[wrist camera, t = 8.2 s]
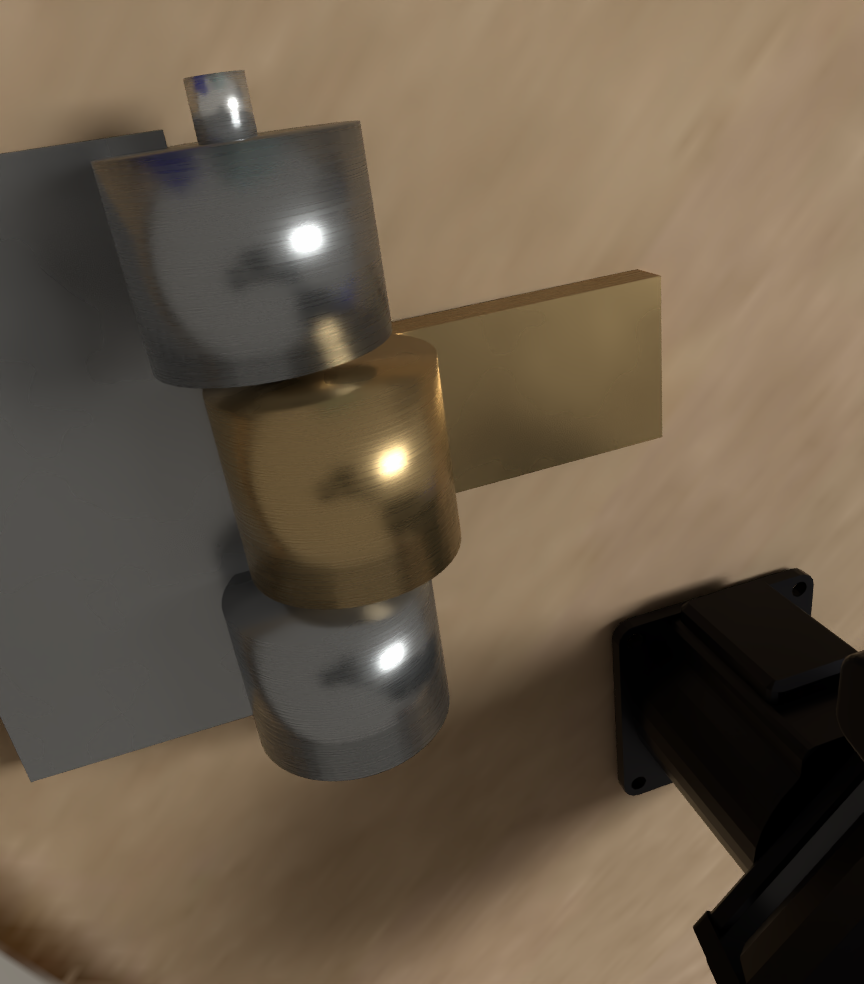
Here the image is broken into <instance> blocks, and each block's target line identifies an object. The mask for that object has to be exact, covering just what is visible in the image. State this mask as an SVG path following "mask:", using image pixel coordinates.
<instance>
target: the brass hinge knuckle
mask: <svg viewBox="0 0 864 984" xmlns="http://www.w3.org/2000/svg"><path fill="white" fill-rule="evenodd" d="M391 323H392V334H391V335H390V337H389V338H388V339H387V340H386V341H385V342H384V343H383V344H382V345H380V346H379V347H377V348H376V349H374V350H372V351H371V352H369V353H367V354H365V355H363V356H361V357H358V358H356V359H354V360H351V361H349V362H346V363H344V364H341V365H338V366H335V367H332V368H329V369H326V370H323V371H319V372H315V373H312V374H308V375H304V376H300V377H296V378H291V379H286V380H281V381H276V382H271V383H264V384H258V385H250V386H242V387H231V388H212V389H203V390H202V395H203V399H204V403H205V407H206V410H207V414H208V418H209V421H210V425H211V429H212V433H213V436H214V440H215V444H216V447H217V451H218V455H219V459H220V462H221V466H222V470H223V473H224V477H225V481H226V485H227V488H228V492H229V496H230V500H231V503H232V507H233V511H234V514H235V518H236V522H237V526H238V529H239V533H240V537H241V540H242V544H243V548H244V552H245V555H246V559H247V563H248V566H249V570H250V574H251V578H252V580H253V582H254V584H255V586H256V587H257V588H258V590H259V591H261V592H262V593H263V594H264V595H265V596H267V597H269V598H271V599H273V600H274V601H277V602H280V603H282V604H285V605H289V606H293V607H299V608H306V609H321V610H328V609H344V608H353V607H359V606H364V605H370V604H374V603H377V602H381V601H385V600H388V599H391V598H394V597H397V596H400V595H402V594H404V593H407V592H409V591H411V590H413V589H415V588H417V587H419V586H421V585H423V584H425V583H426V582H428V581H429V580H431V579H432V578H434V577H435V576H437V575H438V574H439V573H440V572H442V571H443V570H444V569H445V568H446V567H447V566H448V565H449V564H450V563H451V562H452V560H453V559H454V557H455V556H456V554H457V552H458V550H459V548H460V543H461V531H460V523H459V516H458V508H457V501H456V493H458V492H461V491H465V490H469V489H473V488H476V487H480V486H484V485H487V484H491V483H495V482H498V481H502V480H506V479H509V478H513V477H517V476H520V475H524V474H528V473H531V472H535V471H539V470H542V469H546V468H550V467H553V466H557V465H561V464H564V463H568V462H572V461H575V460H579V459H583V458H586V457H590V456H594V455H597V454H601V453H605V452H609V451H612V450H616V449H620V448H623V447H627V446H631V445H634V444H638V443H642V442H645V441H649V440H653V439H656V438H660V437H662V370H661V276H660V275H656V274H652V273H649V272H645V271H642V270H638V269H636V270H632V271H627V272H622V273H618V274H613V275H609V276H604V277H599V278H595V279H590V280H585V281H581V282H576V283H572V284H567V285H562V286H558V287H553V288H548V289H544V290H539V291H535V292H530V293H525V294H521V295H516V296H511V297H507V298H502V299H498V300H493V301H488V302H484V303H479V304H474V305H470V306H465V307H460V308H456V309H451V310H447V311H442V312H437V313H433V314H428V315H423V316H419V317H414V318H410V319H405V320H400V321H396V322H391Z"/></svg>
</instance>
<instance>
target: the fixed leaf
mask: <svg viewBox="0 0 864 984" xmlns="http://www.w3.org/2000/svg"><path fill="white" fill-rule="evenodd" d="M183 81H184V86H185V90H186V94H187V98H188V102H189V107H190V111H191V115H192V119H193V124H194V128H195V132H196V136H197V140H198V142H194V143H188V144H182V145H175V146H169V147H167V145H166V141H165V137H164V133H163V130H156V131H149V132H143V133H136V134H129V135H122V136H116V137H109V138H102V139H96V140H89V141H82V142H75V143H69V144H62V145H55V146H48V147H42V148H35V149H28V150H22V151H15V152H8V153H1V154H0V717H1V719H2V721H3V723H4V725H5V728H6V730H7V732H8V734H9V736H10V738H11V740H12V742H13V745H14V747H15V749H16V751H17V753H18V755H19V757H20V760H21V762H22V764H23V766H24V768H25V770H26V772H27V774H28V777H29V779H30V781H31V782H33V781H36V780H40V779H43V778H46V777H50V776H53V775H56V774H59V773H63V772H66V771H69V770H73V769H76V768H79V767H82V766H86V765H89V764H92V763H96V762H99V761H102V760H106V759H109V758H112V757H115V756H119V755H122V754H125V753H129V752H132V751H135V750H138V749H142V748H145V747H148V746H152V745H155V744H158V743H162V742H165V741H168V740H171V739H175V738H178V737H181V736H185V735H188V734H191V733H194V732H198V731H201V730H204V729H208V728H211V727H214V726H218V725H221V724H224V723H227V722H231V721H234V720H237V719H241V718H244V717H247V716H251V715H253V716H254V720H255V723H256V726H257V730H258V733H259V737H260V740H261V744H262V746H263V748H264V750H265V752H266V754H267V755H268V756H269V757H270V759H271V760H272V761H273V762H274V763H276V764H277V765H278V766H279V767H281V768H282V769H284V770H286V771H288V772H290V773H292V774H295V775H297V776H300V777H304V778H308V779H313V780H320V781H344V780H353V779H359V778H364V777H368V776H371V775H375V774H378V773H381V772H383V771H386V770H389V769H391V768H393V767H395V766H397V765H399V764H401V763H403V762H405V761H406V760H408V759H409V758H411V757H413V756H414V755H415V754H417V753H418V752H419V751H421V750H422V749H423V748H424V747H425V746H426V745H427V744H428V743H429V742H430V741H431V740H432V739H433V738H434V737H435V735H436V734H437V733H438V732H439V730H440V728H441V727H442V725H443V723H444V721H445V719H446V716H447V713H448V709H449V689H448V683H447V676H446V670H445V664H444V657H443V651H442V644H441V638H440V631H439V625H438V619H437V612H436V606H435V599H434V593H433V587H432V580H429V581H428V582H426V583H425V584H423V585H421V586H419V587H417V588H415V589H413V590H411V591H409V592H407V593H404V594H402V595H400V596H397V597H394V598H391V599H388V600H385V601H381V602H377V603H374V604H370V605H364V606H359V607H353V608H344V609H328V610H321V609H306V608H299V607H293V606H289V605H285V604H282V603H280V602H277V601H274V600H273V599H271V598H269V597H267V596H265V595H264V594H263V593H262V592H261V591H259V590H258V588H257V587H256V586H255V584H254V582H253V580H252V578H251V574H250V570H249V566H248V563H247V559H246V555H245V552H244V548H243V544H242V540H241V537H240V533H239V529H238V526H237V522H236V518H235V514H234V511H233V507H232V503H231V500H230V496H229V492H228V488H227V485H226V481H225V477H224V473H223V470H222V466H221V462H220V459H219V455H218V451H217V447H216V444H215V440H214V436H213V433H212V429H211V425H210V421H209V418H208V414H207V410H206V407H205V403H204V399H203V395H202V390H203V389H212V388H231V387H242V386H250V385H258V384H264V383H271V382H276V381H281V380H286V379H291V378H296V377H300V376H304V375H308V374H312V373H315V372H319V371H323V370H326V369H329V368H332V367H335V366H338V365H341V364H344V363H346V362H349V361H351V360H354V359H356V358H358V357H361V356H363V355H365V354H367V353H369V352H371V351H372V350H374V349H376V348H377V347H379V346H380V345H382V344H383V343H384V342H385V341H386V340H387V339H388V338H389V337H390V335H391V334H392V323H391V317H390V310H389V304H388V298H387V291H386V285H385V278H384V272H383V265H382V259H381V253H380V246H379V240H378V233H377V227H376V220H375V214H374V208H373V201H372V195H371V188H370V182H369V175H368V169H367V163H366V156H365V150H364V143H363V137H362V131H361V124H360V121H346V122H336V123H327V124H319V125H311V126H304V127H296V128H289V129H281V130H274V131H267V132H260V133H257V129H256V124H255V120H254V115H253V110H252V105H251V100H250V96H249V91H248V86H247V81H246V76H245V71H244V70H239V71H229V72H220V73H213V74H206V75H200V76H194V77H188V78H184V79H183Z"/></svg>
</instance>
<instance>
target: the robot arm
mask: <svg viewBox="0 0 864 984" xmlns="http://www.w3.org/2000/svg"><path fill="white" fill-rule="evenodd" d="M795 585H796V586H795ZM794 586H795V587H794ZM813 586H814V584H813V579H812V578H811V576H809V575H808V574H806V573H805V572H804V571H802V570H800V569H798V568H794V569H789V570H786V571H783V572H779V573H776V574H773V575H770V576H766V577H763V578H760V579H757V580H753V581H750V582H747V583H744V584H740V585H737V586H734V587H731V588H728V589H724V590H721V591H718V592H715V593H711V594H708V595H705V596H702V597H698V598H695V599H692V600H689V601H685V602H682V603H679V604H676V605H672V606H669V607H666V608H663V609H660V610H656V611H653V612H650V613H647V614H643V615H640V616H637V617H634V618H630V619H627V620H625V621H623V622H621V623H620V624H619V625H618V626H617V627H616V628H615V630H614V632H613V636H612V648H613V672H614V695H615V718H616V741H617V765H618V780H619V783H620V785H621V786H622V788H623V789H624V790H625V792H626V793H627V794H629V795H633V796H634V795H639V794H642V793H645V792H648V791H650V790H653V789H656V788H659V787H661V786H664V785H667V784H670V783H674V784H675V786H676V787H677V788H678V789H679V791H680V792H681V793H682V795H683V796H684V797H685V798H686V800H687V801H688V802H689V803H690V805H691V806H692V807H693V808H694V810H695V811H696V812H697V814H698V815H699V816H700V817H701V819H702V820H703V821H704V822H705V824H706V825H707V826H708V827H709V829H710V830H711V831H712V832H713V834H714V835H715V836H716V838H717V839H718V840H719V841H720V843H721V844H722V845H723V846H724V848H725V849H726V850H727V851H728V853H729V854H730V855H731V856H732V858H733V859H734V860H735V862H736V863H737V864H738V865H739V867H740V868H741V869H742V870H743V872H744V873H745V874H744V875H743V876H742V878H741V879H740V880H739V881H738V882H737V883H736V884H735V885H734V887H733V888H732V889H731V890H730V891H729V892H728V893H727V895H726V896H725V897H724V898H723V899H722V900H721V901H720V902H719V904H718V905H717V906H716V907H715V908H714V909H713V910H712V911H706V912H705V913H704V914H703V916H702V917H701V918H700V919H699V920H698V921H697V922H696V923H695V925H694V926H693V929H694V932H695V934H696V936H697V938H698V940H699V943H700V945H701V947H702V949H703V952H704V954H705V956H706V960H707V963H708V965H709V968H710V970H711V972H712V974H713V976H714V979H715V981H716V983H717V984H864V650H862V651H860V652H858V651H857V650H855V649H854V648H853V647H851V646H850V645H849V644H847V643H846V642H845V641H843V640H842V639H841V638H839V637H838V636H837V635H835V634H834V633H833V632H831V631H830V630H828V629H827V628H826V627H824V626H823V625H822V624H820V623H819V622H818V621H816V620H815V619H814V618H812V617H811V609H812V598H813ZM793 587H794V588H793ZM633 634H635V635H634V637H633V638H632V639H631V640H629V641H627V640H628V639H629V637H630V636H632V635H633Z"/></svg>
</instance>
